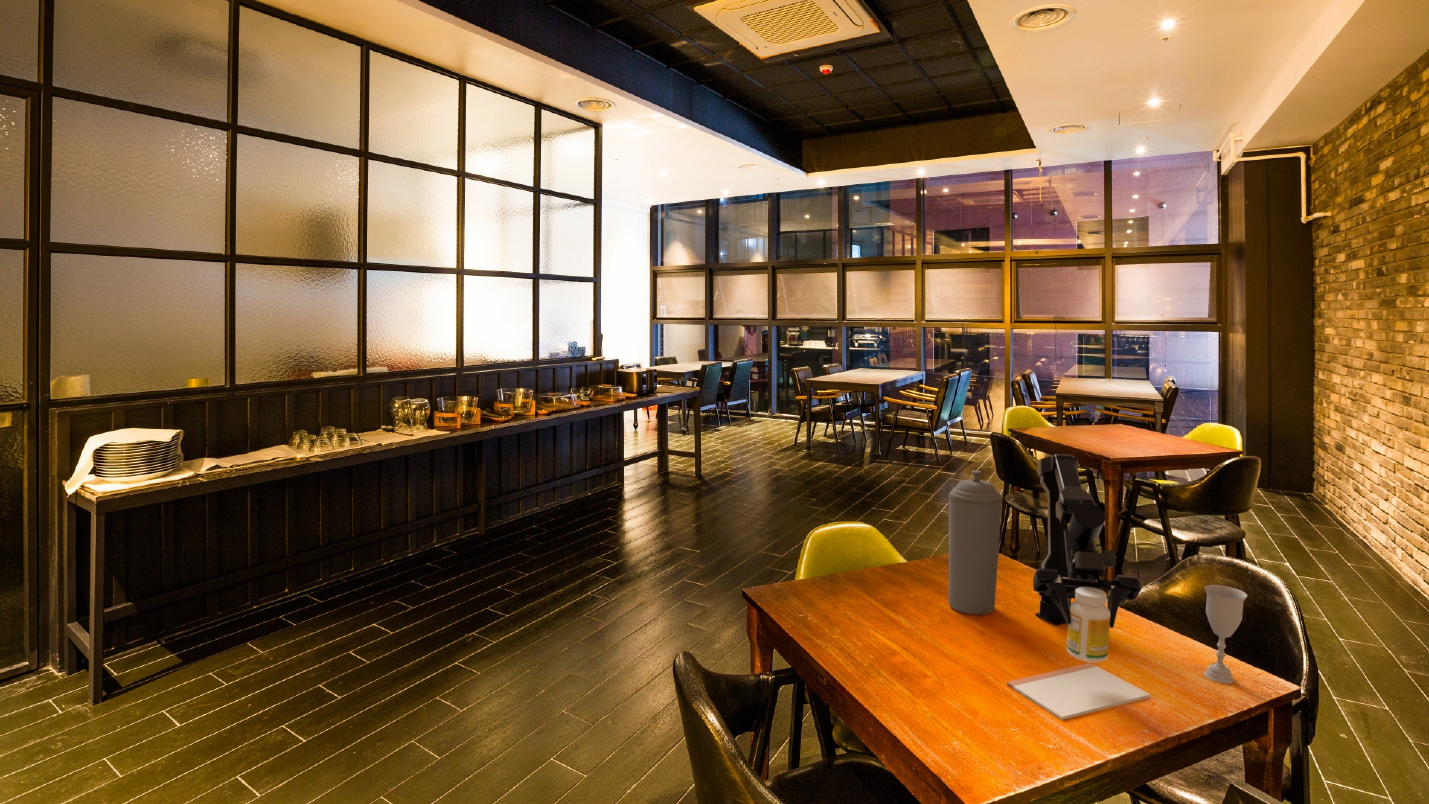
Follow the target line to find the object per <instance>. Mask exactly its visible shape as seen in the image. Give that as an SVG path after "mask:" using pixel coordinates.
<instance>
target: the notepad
mask: <svg viewBox="0 0 1429 804" xmlns="http://www.w3.org/2000/svg"><path fill="white" fill-rule="evenodd" d="M1006 685H1007V687H1009V688H1011V689H1012V688H1013V689H1012V690H1014V691H1016V692H1017V693H1019V694H1020V693H1021V694H1020V695H1022V696H1023V697H1025V698H1026V699H1028V700H1029V701H1030V702H1032V703H1034V704H1036V705H1037V706H1039V707H1040V708H1042V709H1043V710H1045V711H1047V712H1048V713H1049V714H1052V715H1053V716H1054V717H1056V718H1058V719H1059V720H1060V721H1063V720H1067V719H1068V720H1069V719H1072V718H1075V717H1079V716H1082V715H1087V714H1091V713H1095V712H1099V711H1102V710H1106V709H1110V708H1114V707H1117V706H1121V705H1126V704H1129V703H1133V702H1137V701H1141V700H1145V699H1149V698H1151V694H1150V693H1148V692H1146V691H1144V690H1143V689H1140V688H1139V687H1137V686H1136V685H1133V684H1131V683H1129V682H1127V681H1126V680H1123V679H1122V678H1120V677H1118V676H1116V675H1114V674H1112V673H1110V672H1108V671H1106V670H1104V669H1103V668H1101V667H1099V666H1097V665H1096V664H1094V663H1093V662H1089V663H1084V664H1080V665H1076V666H1071V667H1066V668H1062V669H1057V670H1054V671H1048V672H1044V673H1040V674H1037V675H1031V676H1027V677H1023V678H1018V679H1014V680H1010V681H1006Z"/></svg>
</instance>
